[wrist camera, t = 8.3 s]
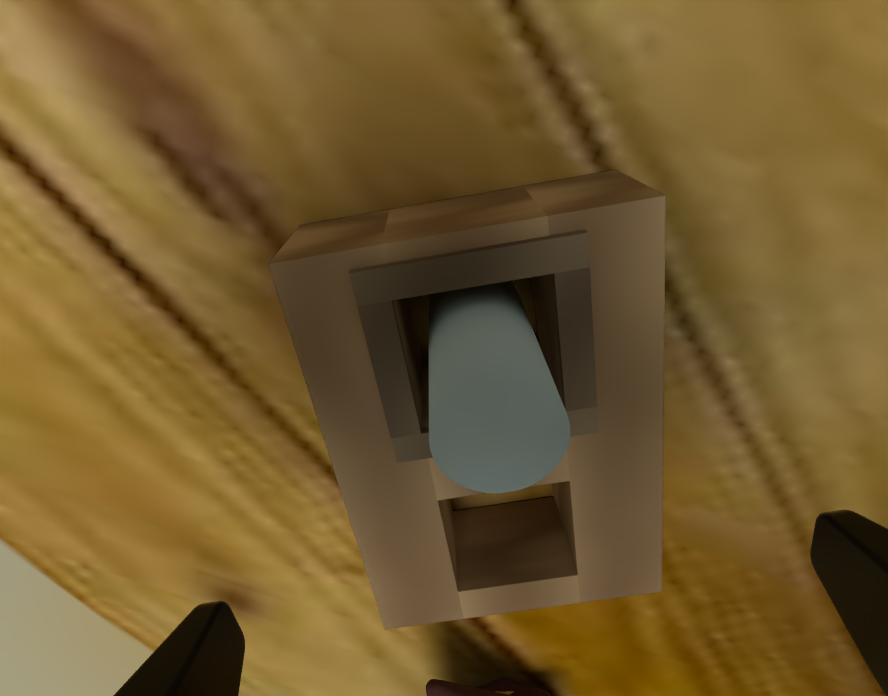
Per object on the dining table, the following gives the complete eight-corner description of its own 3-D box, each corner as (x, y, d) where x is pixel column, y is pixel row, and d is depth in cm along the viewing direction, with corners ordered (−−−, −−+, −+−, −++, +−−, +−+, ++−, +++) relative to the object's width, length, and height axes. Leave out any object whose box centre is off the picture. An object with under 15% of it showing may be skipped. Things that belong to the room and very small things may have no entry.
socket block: (615, 169, 17) (670, 198, 13) (625, 511, 23) (665, 598, 20) (300, 225, 18) (264, 267, 14) (391, 545, 24) (384, 637, 20)
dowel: (521, 332, 20) (574, 482, 12) (436, 345, 20) (441, 502, 13) (511, 250, 18) (565, 365, 11) (421, 265, 18) (416, 389, 11)
